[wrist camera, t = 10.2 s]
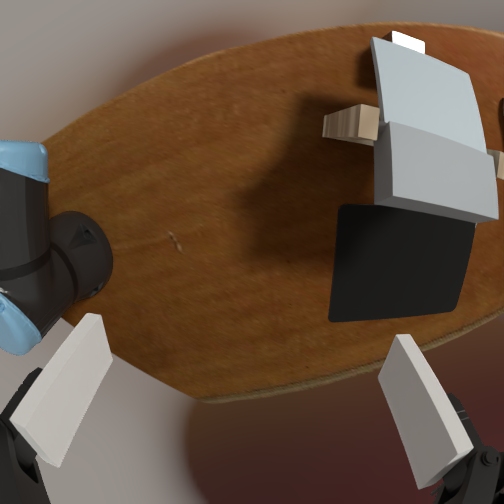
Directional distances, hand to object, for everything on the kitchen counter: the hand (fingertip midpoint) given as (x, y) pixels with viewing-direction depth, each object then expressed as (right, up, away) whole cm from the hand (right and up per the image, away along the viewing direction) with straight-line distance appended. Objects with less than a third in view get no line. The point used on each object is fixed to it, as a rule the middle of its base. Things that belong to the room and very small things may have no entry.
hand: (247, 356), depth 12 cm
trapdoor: (+20, +18, +14) cm, 30 cm away
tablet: (+26, +2, +32) cm, 41 cm away
